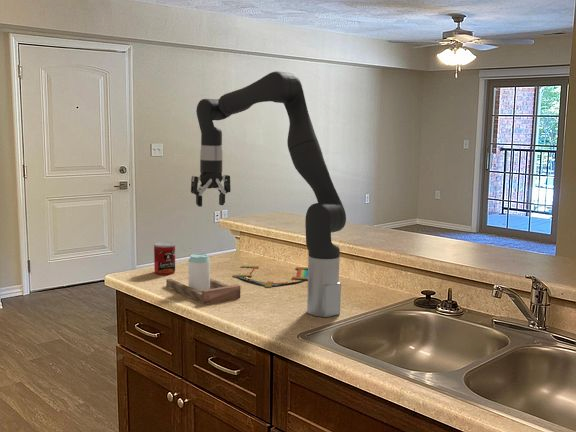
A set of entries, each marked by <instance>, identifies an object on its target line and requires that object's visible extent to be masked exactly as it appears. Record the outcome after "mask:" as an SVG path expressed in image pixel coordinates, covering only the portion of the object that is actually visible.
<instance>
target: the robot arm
mask: <svg viewBox="0 0 576 432" xmlns="http://www.w3.org/2000/svg"><path fill="white" fill-rule="evenodd" d="M266 102H272V103H273V102H274V103H278V104H279V103H280V104H283V106H284V107H285V110H286V113H287V116H288V119H289V121H288V122H289V127H288V133H287V140H286V141H287V149H288V152H289V155H290V158H291V161H292V164H293V166H294V168H295V169H296V172H297V173H298V174H299V175H300V176H301V177H302V178H303V180H305V182H306V183H307V184H308V185H309V186H310V188H311V189H312V191H313V193H314V196H315V199H316V201H317V202H316V203H312V204H311V205H310V206H309V207H308V208H307V210H306V214H305V226H304V227H305V244H306V248H307V250H308V253H307V256H308V258H307V260H308V263H307V268H308V277H307V278H308V280H307V303H306V304H307V305H306V306H307V307H306V308H307V309H306V312H307V313H308V314H309V315H311V316H315V317H323V318H329V317H333V316H338V315H341V301H342V300H341V297H342V295H341V294H342V283H341V282H340V281H339V280H340V256H341V255H340V254H341V251H340V250H341V248H340V247H339V246H338V245H336V244H334V243H333V242H332V233H335V232H339V231H342V229H344V228H345V226H346V222H347V214H346V210H345V207H344V205H343V203H342V200H341V199H340V196H339V194H338V191H337V190H336V188H335V185H334V183H333V181H332V178H331V175H330V172H329V170H328V168H327V167H328V166H327V165H326V161H325V158H324V155H323V152H322V149H321V146H320V142H319V140H318V138H317V135H316V132H315V129H314V126H313V123H312V120H311V116H310V113H309V110H308V106H307V102H306V98H305V92H304V89H303V85H302V82H301V80H300V79H299V77H298V75H296V74H295V73H291V72H287V71H286V72H284V71H277V70H276V71H272V72H270V73H268V74H266V75H264V76H263V77H261V78H259V79H258V80H256V81H254V82H252V83H251V84H249V85H247V86H244V87H242V88H239V89H236V90H233V91H229V92H227V93H225V94H222V95H221V96H220V97H219V98H218V99H215V98H202V99H200V101H198V103H197V104H196V105H197V106H196V117H197V122H198V126H199V129H200V135H201V137H200V138H201V139H200V152H199V155H200V156H199V158H200V160H199V164H200V166H199V167H200V168H199V172H200V174H199V176H196V175H192V176H191V180H190V181H191V184H190V193H191V194H193V195H195V204H196V205H197V207H201V208H202V206H203V196H202V195H203V194H204V193H205V191H206V190H207V189H216V190H217V192H219V194H218V204H219V206H225V203H226V195H227V194H229V193H230V192H231V176H230V175H229V174H222V173H223V132H222V129H221V128H218V127H216V126H215V125H214V121H222V120H225V119H227V118H229V117H231V116H233V115H237V114H239V113H243V112H245V111H247V110H249V109H250V108H251V107H252V106H254V105H255V104H259V103H266ZM222 181H223V184H222V183H221V182H222ZM199 183H200V184H199ZM198 185H199V186H198Z"/></svg>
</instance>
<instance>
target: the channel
mask: <svg viewBox="0 0 576 432" xmlns="http://www.w3.org/2000/svg"><path fill="white" fill-rule="evenodd" d="M165 284H166V287H167V288H169V289H171V290H173V291H176V292H178V293H180V294H183V295H184V296H186V297H189V298H191V299H192V300H195V301H198V302H200V303H202V304H203V305H210V304H214V303H221V302H226V301H230V300H231V301H232V300H235V299H240V298H241V285H239V284H238V283H237V284H236V283H235V284H232V285H228V284H226V283H224V282H221V281H218V280H216V279H214V278H211V277H210V289H207V290H202V292H200V291H197V290H195V289H193V288H191V287H189V285H186V284H184V283H182V282H179V281H177V280H174V279H173V278H166V283H165Z"/></svg>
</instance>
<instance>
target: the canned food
mask: <svg viewBox="0 0 576 432" xmlns="http://www.w3.org/2000/svg"><path fill="white" fill-rule="evenodd" d="M153 253H154V254H153V255H154V256H153V261H154V264H153V265H154V273H155V274H156V275H158V276H168V275H173V274H174V273H175V272H176V243H175V242H172V241H158V242H155V243H154V244H153Z"/></svg>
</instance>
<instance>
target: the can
mask: <svg viewBox="0 0 576 432" xmlns="http://www.w3.org/2000/svg"><path fill="white" fill-rule="evenodd" d="M187 261H188V263H187V265H188V267H187V268H188V269H187V270H188V287H191V288H193V289H195V290H197V291H200V292H202V290H207V289H211V288H210V278H211V260H210V258H209V255H208V254H206V253H205V254H204V253H194V254H191V255H190V256H189V259H188V260H187Z"/></svg>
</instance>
